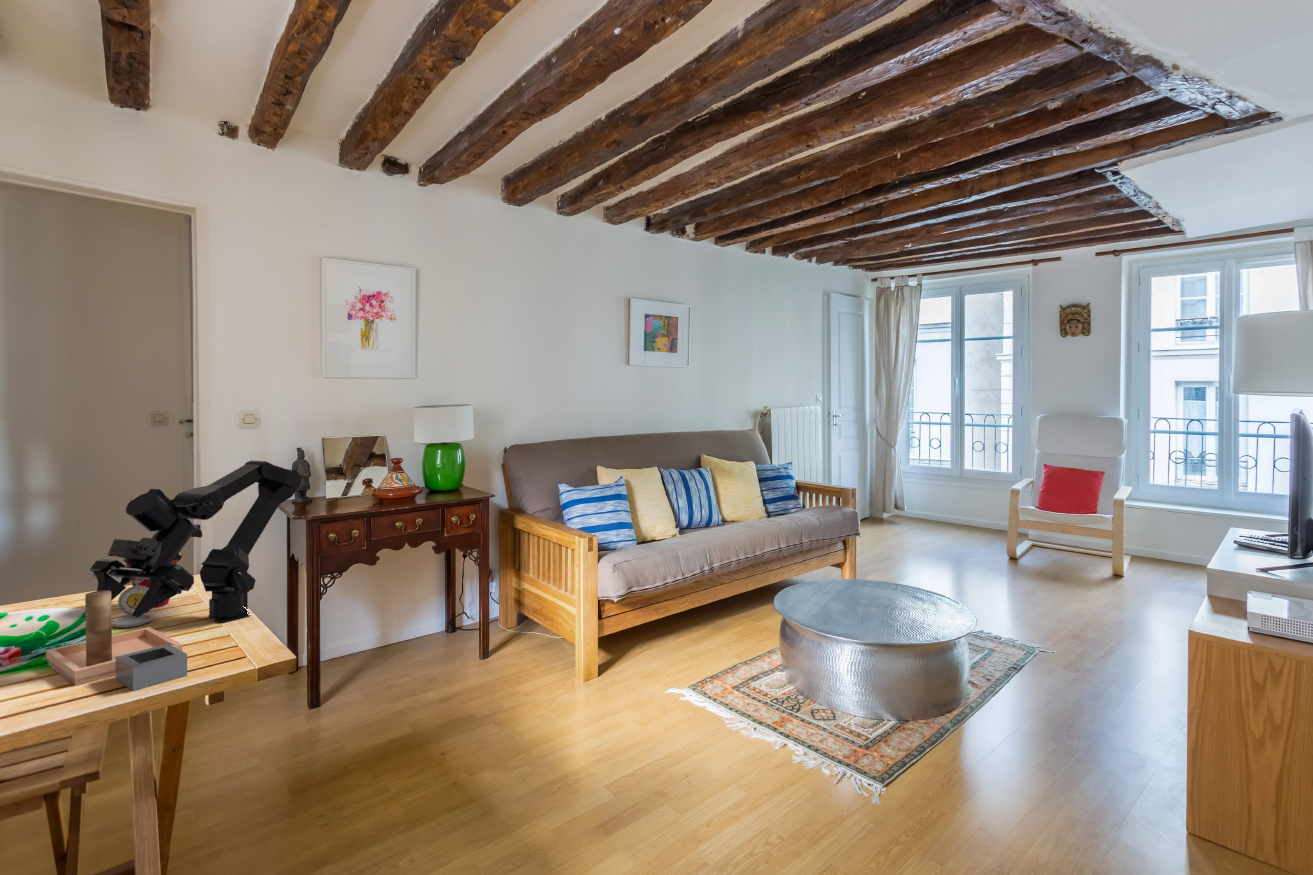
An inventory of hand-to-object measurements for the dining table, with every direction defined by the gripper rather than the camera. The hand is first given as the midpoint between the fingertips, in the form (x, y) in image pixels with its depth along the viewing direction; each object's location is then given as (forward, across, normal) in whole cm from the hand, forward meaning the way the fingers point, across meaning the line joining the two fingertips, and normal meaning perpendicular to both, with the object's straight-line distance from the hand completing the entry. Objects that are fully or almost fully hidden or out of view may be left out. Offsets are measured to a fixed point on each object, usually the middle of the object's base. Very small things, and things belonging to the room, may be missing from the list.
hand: (113, 614), depth 121 cm
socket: (+9, +13, +4) cm, 16 cm away
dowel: (+8, 0, +4) cm, 9 cm away
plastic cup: (-14, -24, +28) cm, 39 cm away
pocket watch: (-6, -17, +20) cm, 27 cm away
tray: (+6, -1, +7) cm, 9 cm away
